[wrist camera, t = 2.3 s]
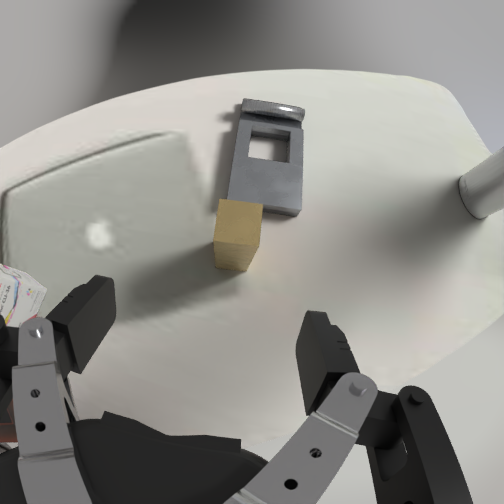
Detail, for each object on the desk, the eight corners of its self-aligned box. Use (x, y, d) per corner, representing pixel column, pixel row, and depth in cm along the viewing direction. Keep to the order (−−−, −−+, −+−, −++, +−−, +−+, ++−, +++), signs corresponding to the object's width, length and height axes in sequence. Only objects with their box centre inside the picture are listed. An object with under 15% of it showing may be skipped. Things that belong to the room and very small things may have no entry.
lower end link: (299, 112, 41) (304, 99, 38) (298, 182, 38) (304, 171, 35) (242, 103, 40) (244, 89, 37) (231, 172, 37) (232, 160, 34)
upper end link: (299, 138, 39) (303, 129, 37) (296, 216, 36) (301, 209, 34) (238, 129, 39) (239, 119, 36) (226, 207, 36) (227, 199, 33)
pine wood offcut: (249, 242, 35) (263, 204, 23) (246, 271, 34) (259, 246, 23) (219, 238, 35) (219, 198, 23) (215, 267, 34) (213, 240, 22)
